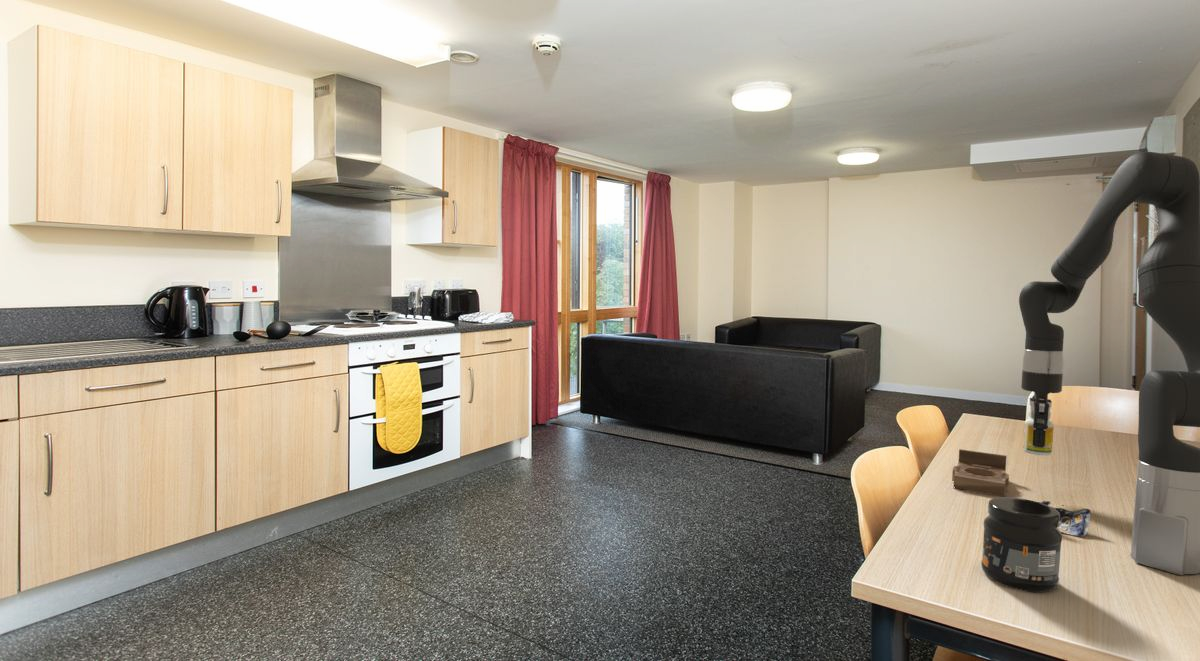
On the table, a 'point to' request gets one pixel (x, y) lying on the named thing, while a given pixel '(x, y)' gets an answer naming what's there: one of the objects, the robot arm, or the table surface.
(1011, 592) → the table surface
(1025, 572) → the supplement container
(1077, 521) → the snack package
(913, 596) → the table surface
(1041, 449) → the supplement bottle
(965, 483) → the brown bottle holder
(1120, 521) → the table surface
